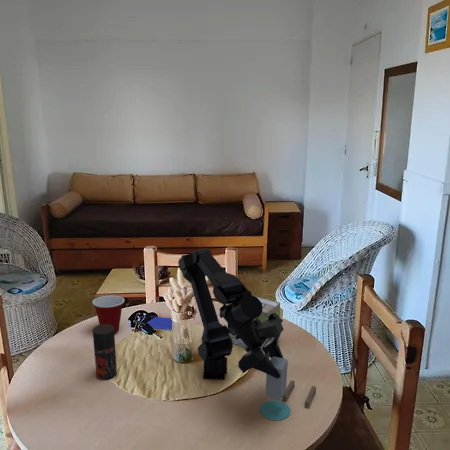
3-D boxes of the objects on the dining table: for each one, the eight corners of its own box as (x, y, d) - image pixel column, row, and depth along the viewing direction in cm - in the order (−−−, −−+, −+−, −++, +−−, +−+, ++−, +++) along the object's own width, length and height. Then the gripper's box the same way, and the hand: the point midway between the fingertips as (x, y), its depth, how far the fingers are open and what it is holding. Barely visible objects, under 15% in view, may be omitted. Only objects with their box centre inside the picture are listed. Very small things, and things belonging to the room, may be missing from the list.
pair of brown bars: (282, 400, 125) (282, 396, 125) (290, 384, 132) (290, 380, 132) (308, 408, 122) (309, 403, 122) (315, 391, 129) (316, 386, 129)
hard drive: (137, 326, 163) (172, 328, 162) (144, 315, 171) (177, 317, 170) (138, 330, 163) (172, 332, 162) (144, 319, 171) (177, 321, 170)
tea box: (279, 341, 156) (281, 301, 152) (265, 355, 147) (267, 313, 143) (241, 329, 163) (242, 291, 159) (226, 342, 155) (226, 301, 151)
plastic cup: (131, 325, 166) (129, 294, 162) (117, 340, 155) (115, 308, 152) (103, 322, 168) (101, 291, 165) (88, 336, 158) (86, 304, 154)
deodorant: (120, 374, 137) (118, 328, 133) (103, 383, 132) (100, 336, 128) (109, 366, 140) (106, 322, 136) (92, 374, 136) (88, 329, 132)
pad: (260, 420, 118) (260, 419, 118) (259, 400, 125) (259, 399, 125) (292, 420, 117) (292, 420, 117) (288, 400, 125) (288, 400, 125)
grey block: (265, 396, 119) (266, 365, 116) (271, 385, 123) (273, 355, 121) (280, 400, 117) (282, 369, 115) (286, 389, 122) (287, 359, 119)
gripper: (251, 324, 107) (295, 377, 106) (276, 294, 123) (314, 340, 122) (220, 347, 112) (261, 398, 111) (248, 315, 129) (284, 359, 127)
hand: (282, 372), depth 118 cm, fingers closed on grey block, 5 cm apart
